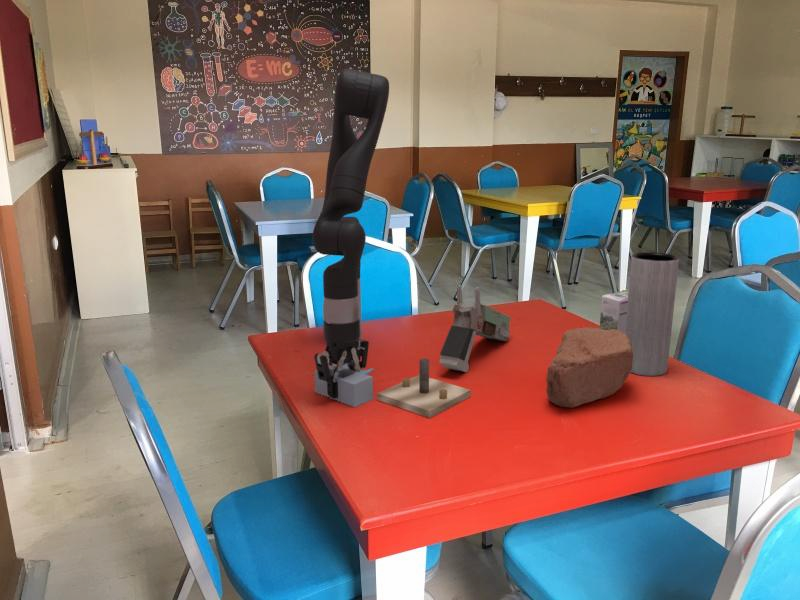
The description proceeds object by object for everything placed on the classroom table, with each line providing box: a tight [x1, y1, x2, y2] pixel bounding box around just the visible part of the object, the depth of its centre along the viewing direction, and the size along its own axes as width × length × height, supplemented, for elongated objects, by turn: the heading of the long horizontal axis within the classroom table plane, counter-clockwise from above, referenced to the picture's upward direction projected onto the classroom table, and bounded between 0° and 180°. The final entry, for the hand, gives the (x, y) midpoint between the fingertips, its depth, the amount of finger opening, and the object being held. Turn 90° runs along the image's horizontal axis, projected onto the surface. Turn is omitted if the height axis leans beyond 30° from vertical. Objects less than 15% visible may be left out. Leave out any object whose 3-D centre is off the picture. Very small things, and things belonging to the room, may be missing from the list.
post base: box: [376, 358, 472, 419], centre depth 137 cm, size 14×14×8 cm
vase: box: [625, 251, 680, 377], centre depth 151 cm, size 10×10×27 cm
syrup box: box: [599, 292, 628, 333], centre depth 165 cm, size 6×6×14 cm
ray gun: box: [439, 284, 511, 373], centre depth 163 cm, size 7×32×20 cm, turn 152°
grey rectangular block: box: [313, 364, 374, 408], centre depth 139 cm, size 12×6×5 cm, turn 49°
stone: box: [545, 326, 633, 409], centre depth 138 cm, size 16×26×15 cm, turn 145°
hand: (343, 392), depth 139 cm, fingers closed on grey rectangular block, 5 cm apart
